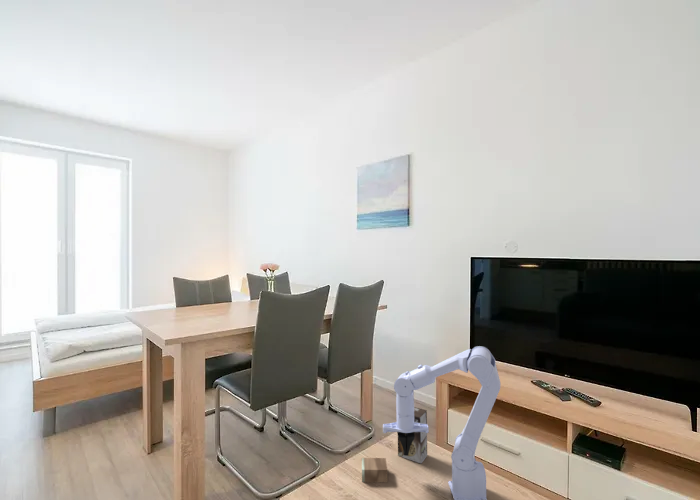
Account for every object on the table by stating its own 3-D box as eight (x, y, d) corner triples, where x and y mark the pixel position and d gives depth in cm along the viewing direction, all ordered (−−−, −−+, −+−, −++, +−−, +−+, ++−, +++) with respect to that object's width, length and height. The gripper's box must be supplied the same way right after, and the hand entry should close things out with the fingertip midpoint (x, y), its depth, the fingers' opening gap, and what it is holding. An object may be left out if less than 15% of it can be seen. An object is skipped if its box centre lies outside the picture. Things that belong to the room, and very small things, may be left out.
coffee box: (428, 454, 122) (427, 409, 122) (421, 464, 117) (420, 417, 116) (404, 446, 127) (404, 403, 127) (396, 455, 122) (396, 410, 121)
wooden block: (385, 458, 114) (361, 457, 114) (387, 469, 108) (361, 469, 108) (385, 469, 114) (362, 469, 114) (387, 482, 108) (362, 482, 108)
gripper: (425, 406, 114) (426, 446, 114) (382, 406, 115) (382, 446, 115) (429, 416, 107) (430, 459, 107) (383, 416, 108) (384, 459, 108)
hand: (405, 453), depth 111 cm, fingers closed
